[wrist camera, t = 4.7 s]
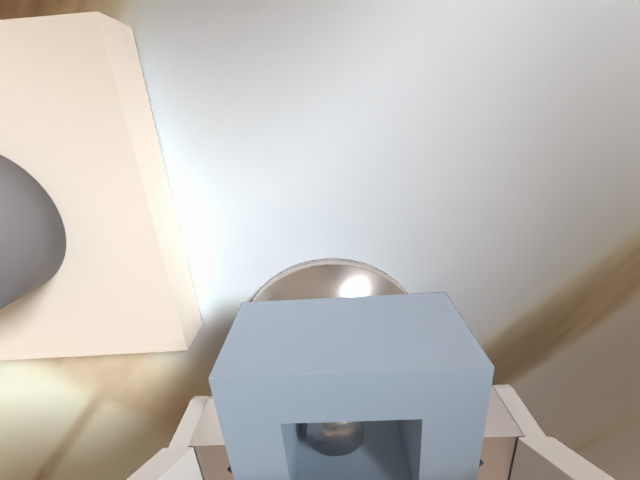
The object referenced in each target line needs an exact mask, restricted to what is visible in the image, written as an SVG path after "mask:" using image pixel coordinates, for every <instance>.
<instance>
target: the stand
mask: <svg viewBox="0 0 640 480" xmlns="http://www.w3.org/2000/svg"><path fill="white" fill-rule="evenodd" d="M399 294H408V293H407V292H406V291H405V290H404V288H403V287H402V286H401V285H400V284H399V283H398V282H397V281H396V280H394V279H393V278H392V277H390V276H389V275H387V274H386V273H384V272H383V271H381V270H379V269H377V268H375V267H372V266H370V265H367V264H365V263H361V262H357V261H353V260H346V259H319V260H312V261H308V262H304V263H300V264H298V265H295V266H292V267H290V268H288V269H286V270H284V271H282V272H280V273H279V274H277V275H276V276H274V277H273V278H272V279H270V280H269V281H268V282H267V283H266V284H265V285H264V286H263V287H262V288H261V289H260V290H259V291H258V293H257V294H256V295H255V297H254V298H253V300H252V302H260V301H280V300H300V299H320V298H340V297H360V296H379V295H399ZM363 440H364V428H363V421H353V422H322V423H307V441H308V443H309V445H310V446H311V447H312V448H313V449H314V450H315V451H317V452H319V453H321V454H323V455H327V456H343V455H347V454H350V453H352V452H354V451H355V450H357V449H358V448H359V447H360V446H361V444H362V443H363Z"/></svg>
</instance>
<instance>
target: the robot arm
mask: <svg viewBox="0 0 640 480" xmlns="http://www.w3.org/2000/svg"><path fill="white" fill-rule="evenodd" d="M126 480H234V479H233V475H232V471H231V467H230V463H229V459H228V455H227V451H226V447H225V443H224V439H223V435H222V432H221V428H220V424H219V420H218V416H217V412H216V408H215V404H214V400H213V396H212V395H211V396H194V397H193V398H192V399H191V401H190V403H189V405H188V407H187V409H186V411H185V413H184V415H183V417H182V419H181V421H180V423H179V425H178V428H177V430H176V432H175V434H174V436H173V438H172V440H171V442H170V444H169V446H168V448H162V449H161V450H160V451H159V452H157V453H156V454H155V455H154V456H153V457H152V458H150V459H149V460H148V461H147V462H146V463H145V464H144V465H142V466H141V467H140V468H139V469H138V470H137V471H135V472H134V473H133V474H132V475H131V476H130V477H128V478H127V479H126ZM477 480H616V479H614V478H613V477H611V476H610V475H608V474H607V473H605V472H604V471H602V470H601V469H599V468H598V467H596V466H595V465H593V464H592V463H591V462H589V461H588V460H586V459H585V458H583V457H582V456H580V455H579V454H577V453H576V452H574V451H573V450H571V449H570V448H568V447H567V446H565V445H564V444H562V443H561V442H560V441H558V440H557V439H555V438H554V437H546V435H545V434H544V432H543V431H542V430H541V428H540V427H539V425H538V424H537V422H536V421H535V419H534V418H533V416H532V415H531V413H530V412H529V411H528V409H527V408H526V406H525V405H524V403H523V402H522V400H521V399H520V397H519V396H518V394H517V393H516V392H515V390H514V389H513V387H512V386H510V385H509V384H507V385H492V387H491V393H490V399H489V406H488V412H487V418H486V425H485V431H484V438H483V444H482V450H481V457H480V463H479V469H478V476H477Z"/></svg>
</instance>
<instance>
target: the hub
mask: <svg viewBox="0 0 640 480" xmlns="http://www.w3.org/2000/svg"><path fill="white" fill-rule="evenodd" d="M202 325H203V324H202V320H201V316H200V312H199V307H198V303H197V299H196V295H195V291H194V286H193V282H192V278H191V274H190V270H189V265H188V261H187V257H186V253H185V249H184V244H183V240H182V236H181V232H180V228H179V223H178V219H177V215H176V211H175V207H174V202H173V198H172V194H171V190H170V186H169V181H168V177H167V173H166V169H165V165H164V160H163V156H162V152H161V148H160V144H159V139H158V135H157V131H156V127H155V123H154V118H153V114H152V110H151V106H150V102H149V97H148V93H147V89H146V85H145V81H144V76H143V72H142V68H141V64H140V60H139V55H138V51H137V47H136V43H135V39H134V34H133V30H132V27H130V26H128V25H126V24H124V23H122V22H119V21H117V20H115V19H113V18H111V17H109V16H106V15H104V14H102V13H100V12H98V11H95V12H84V13H73V14H62V15H50V16H39V17H28V18H17V19H6V20H0V360H18V359H37V358H56V357H75V356H94V355H113V354H132V353H150V352H169V351H188V349H189V347H190V346H191V344H192V342H193V340H194V339H195V337H196V335H197V334H198V332H199V330H200V328H201V327H202Z"/></svg>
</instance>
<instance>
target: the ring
mask: <svg viewBox="0 0 640 480" xmlns="http://www.w3.org/2000/svg"><path fill="white" fill-rule="evenodd" d="M493 374H494V366H493V364H492V363H491V361H490V360H489V358H488V357H487V355H486V354H485V352H484V351H483V349H482V347H481V346H480V344H479V343H478V341H477V340H476V338H475V337H474V335H473V334H472V332H471V331H470V329H469V328H468V326H467V324H466V323H465V321H464V320H463V318H462V317H461V315H460V314H459V312H458V311H457V309H456V308H455V306H454V305H453V303H452V302H451V300H450V298H449V297H448V295H447V294H446V292H439V293H419V294H399V295H379V296H360V297H340V298H320V299H300V300H280V301H260V302H242V304H241V306H240V309H239V311H238V313H237V315H236V318H235V320H234V322H233V324H232V326H231V329H230V331H229V333H228V335H227V338H226V340H225V342H224V344H223V346H222V349H221V351H220V353H219V355H218V358H217V360H216V362H215V364H214V367H213V369H212V371H211V373H210V375H209V378H208V380H209V384H210V388H211V392H212V396H213V400H214V404H215V408H216V412H217V416H218V420H219V424H220V428H221V432H222V435H223V439H224V443H225V447H226V451H227V455H228V459H229V463H230V467H231V471H232V475H233V479H234V480H477V476H478V469H479V463H480V457H481V450H482V444H483V438H484V431H485V425H486V418H487V412H488V406H489V399H490V393H491V387H492V380H493ZM353 421H363V428H364V440H363V443H362V444H361V446H360V447H359V448H358V449H357V450H355V451H354V452H352V453H350V454H347V455H343V456H327V455H323V454H321V453H319V452H317V451H315V450H314V449H313V448H312V447H311V446H310V445H309V443H308V441H307V423H322V422H353Z"/></svg>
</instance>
